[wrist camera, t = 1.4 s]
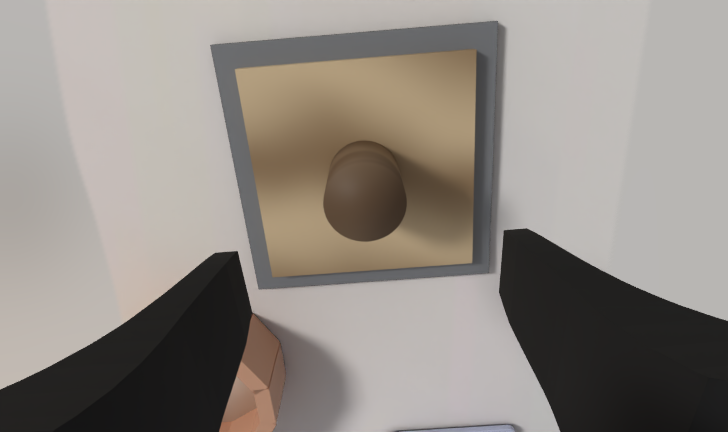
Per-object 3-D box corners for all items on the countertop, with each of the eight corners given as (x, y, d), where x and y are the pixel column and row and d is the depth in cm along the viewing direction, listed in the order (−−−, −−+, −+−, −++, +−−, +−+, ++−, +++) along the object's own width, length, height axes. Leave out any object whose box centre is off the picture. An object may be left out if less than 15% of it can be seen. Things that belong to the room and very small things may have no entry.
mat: (486, 269, 24) (488, 273, 23) (260, 285, 24) (258, 289, 24) (495, 21, 19) (497, 20, 19) (213, 44, 19) (210, 45, 19)
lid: (469, 257, 23) (491, 304, 19) (274, 271, 23) (257, 321, 19) (473, 48, 19) (502, 55, 15) (238, 68, 19) (207, 79, 15)
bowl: (294, 417, 28) (285, 468, 24) (149, 426, 28) (122, 479, 25) (271, 292, 24) (257, 334, 21) (105, 304, 24) (67, 347, 21)
